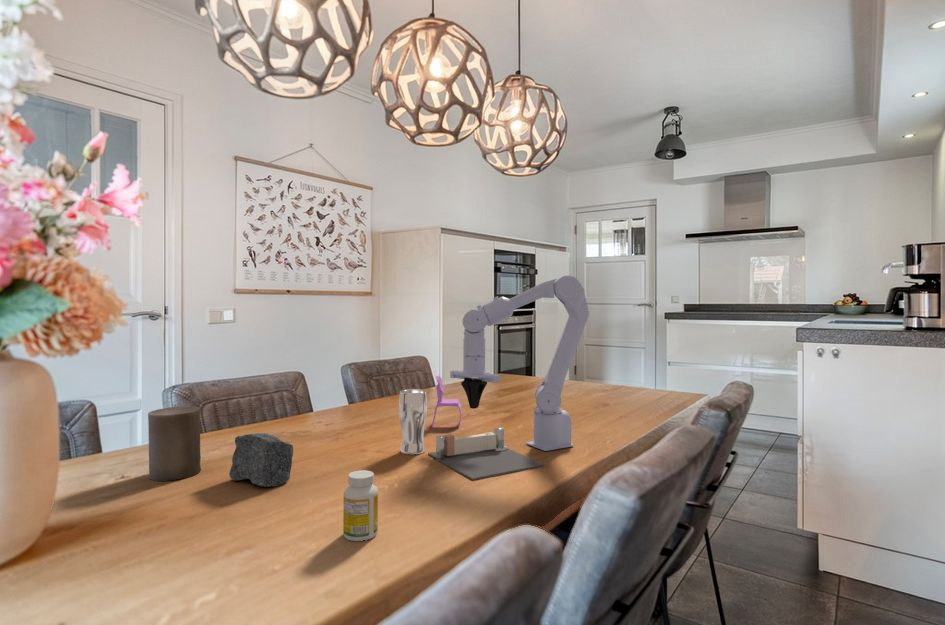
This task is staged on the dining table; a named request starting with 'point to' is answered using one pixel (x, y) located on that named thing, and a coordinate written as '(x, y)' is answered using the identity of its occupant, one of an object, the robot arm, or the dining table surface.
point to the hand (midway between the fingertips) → (474, 407)
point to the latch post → (440, 448)
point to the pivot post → (499, 439)
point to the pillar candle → (174, 443)
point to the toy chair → (445, 401)
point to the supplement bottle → (360, 507)
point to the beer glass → (413, 420)
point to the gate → (469, 443)
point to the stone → (261, 459)
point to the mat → (488, 463)
